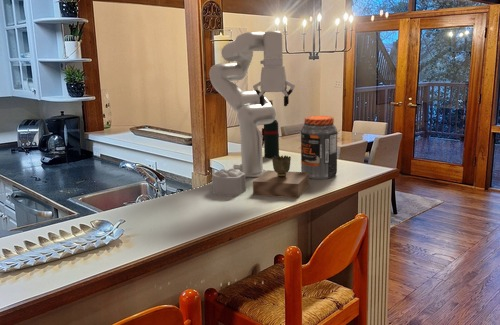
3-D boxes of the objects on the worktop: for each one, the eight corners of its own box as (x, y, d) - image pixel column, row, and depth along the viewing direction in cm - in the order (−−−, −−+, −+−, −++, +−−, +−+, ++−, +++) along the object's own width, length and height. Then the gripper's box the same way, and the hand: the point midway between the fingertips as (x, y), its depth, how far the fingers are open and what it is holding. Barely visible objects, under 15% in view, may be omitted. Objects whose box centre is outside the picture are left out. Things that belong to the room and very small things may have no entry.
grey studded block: (237, 196, 176) (236, 174, 174) (207, 193, 181) (206, 172, 179) (248, 189, 185) (247, 168, 183) (219, 187, 190) (218, 166, 189)
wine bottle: (264, 154, 252) (263, 99, 246) (281, 155, 247) (280, 99, 241) (258, 157, 245) (256, 101, 239) (275, 158, 241) (274, 101, 234)
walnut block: (253, 196, 178) (252, 181, 176) (267, 184, 194) (267, 170, 193) (298, 199, 172) (298, 184, 170) (309, 186, 188) (309, 172, 187)
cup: (285, 180, 177) (284, 159, 175) (269, 177, 181) (268, 158, 179) (294, 175, 183) (294, 155, 181) (278, 173, 187) (278, 154, 185)
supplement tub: (294, 174, 207) (293, 117, 201) (322, 169, 214) (322, 114, 208) (314, 181, 193) (314, 120, 187) (344, 176, 200) (345, 117, 194)
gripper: (249, 64, 182) (251, 107, 186) (292, 62, 177) (293, 107, 181) (255, 63, 189) (256, 105, 193) (296, 62, 184) (296, 105, 188)
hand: (274, 106), depth 187 cm, fingers open, 9 cm apart
